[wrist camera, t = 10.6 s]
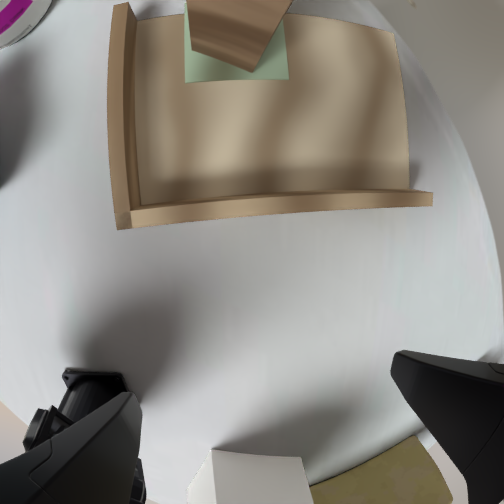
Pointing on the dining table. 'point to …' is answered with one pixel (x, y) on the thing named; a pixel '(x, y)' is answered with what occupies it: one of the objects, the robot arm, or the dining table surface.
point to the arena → (254, 123)
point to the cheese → (388, 480)
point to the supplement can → (19, 18)
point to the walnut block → (234, 28)
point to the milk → (249, 480)
